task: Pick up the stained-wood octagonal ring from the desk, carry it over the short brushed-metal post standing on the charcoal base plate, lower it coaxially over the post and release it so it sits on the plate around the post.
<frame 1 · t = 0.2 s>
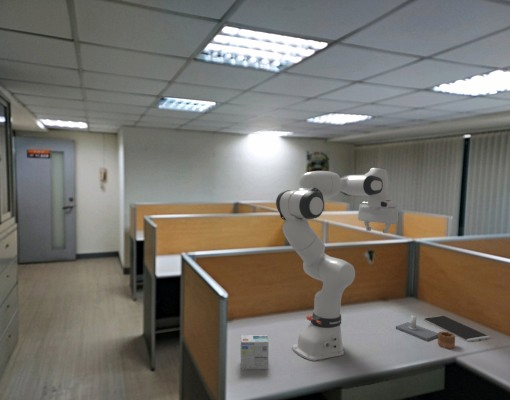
hand: (376, 231, 167), 48 cm above the table, fingers open, 8 cm apart
post stand: (417, 332, 168), on the table
light bulb box: (254, 365, 136), on the table
smartphone: (454, 330, 173), on the table
ring: (446, 345, 154), on the table
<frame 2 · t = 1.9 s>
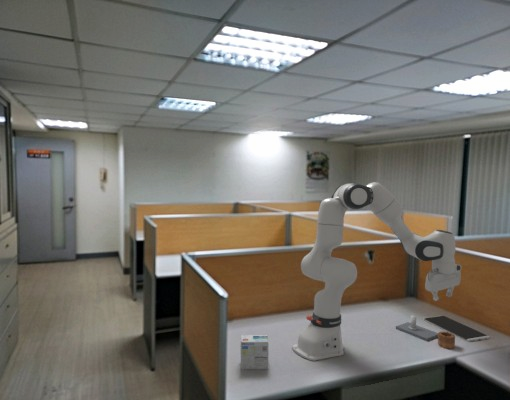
hand: (442, 298, 155), 20 cm above the table, fingers open, 8 cm apart
nothing on the table moved.
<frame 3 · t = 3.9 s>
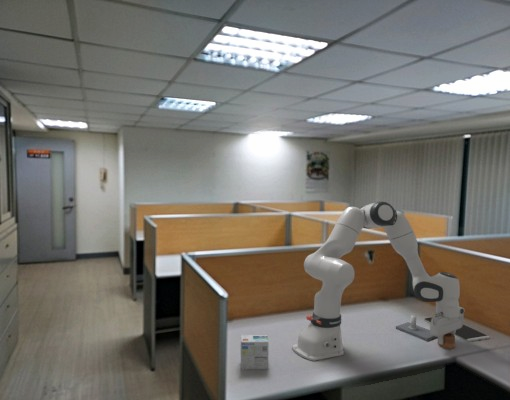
hand: (446, 341, 154), 2 cm above the table, fingers closed on ring, 6 cm apart
ring: (446, 345, 154), on the table, touching gripper
everything else where it was.
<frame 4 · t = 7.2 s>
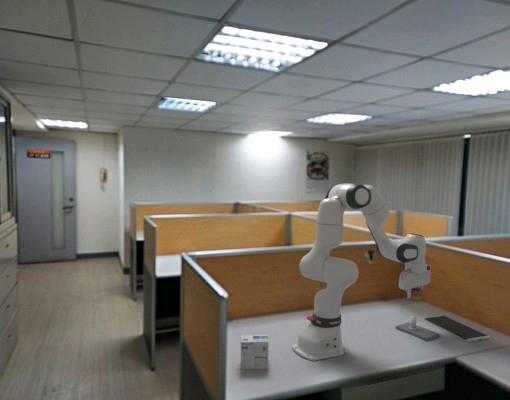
hand: (414, 295, 169), 17 cm above the table, fingers closed on ring, 6 cm apart
ring: (414, 299, 169), point 15 cm above the table, touching gripper
everything else where it was.
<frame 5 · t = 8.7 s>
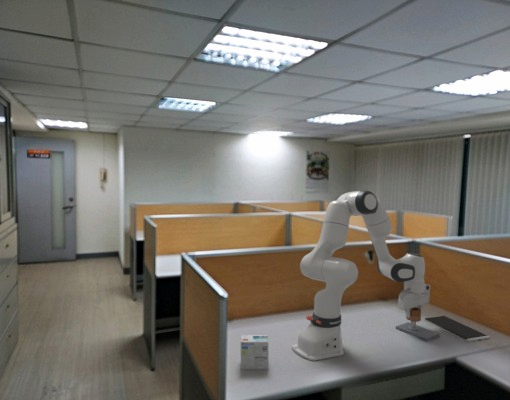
hand: (413, 315, 169), 7 cm above the table, fingers closed on ring, 6 cm apart
ring: (413, 319, 169), point 6 cm above the table, touching gripper
everything else where it was.
when the fingers open (5 cm above the table, at t = 10.2 s): ring drops 1 cm, resting on post stand.
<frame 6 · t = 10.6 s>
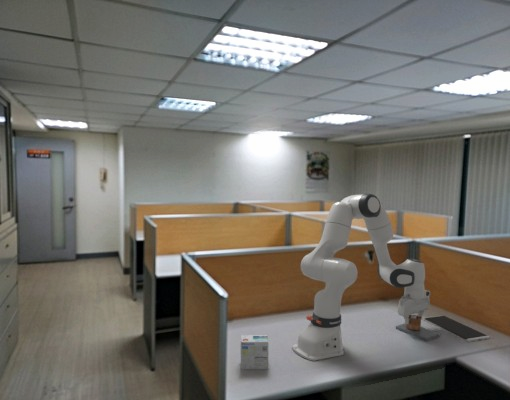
hand: (413, 321, 169), 5 cm above the table, fingers open, 8 cm apart
ring: (413, 327, 169), point 2 cm above the table, touching post stand
everything else where it was.
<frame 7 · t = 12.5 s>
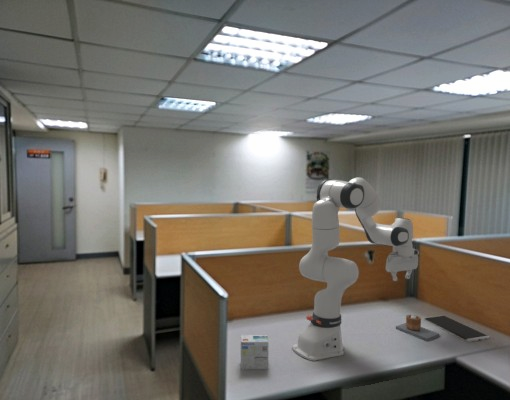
hand: (401, 279, 172), 24 cm above the table, fingers open, 8 cm apart
nothing on the table moved.
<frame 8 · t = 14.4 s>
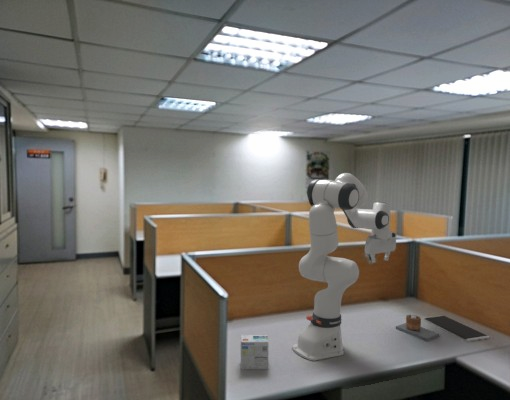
hand: (380, 261, 179), 31 cm above the table, fingers open, 8 cm apart
nothing on the table moved.
at the end: ring 0.0 cm from the target spot on the post stand, point 1.7 cm above the post stand's base; the gripper is holding nothing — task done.
